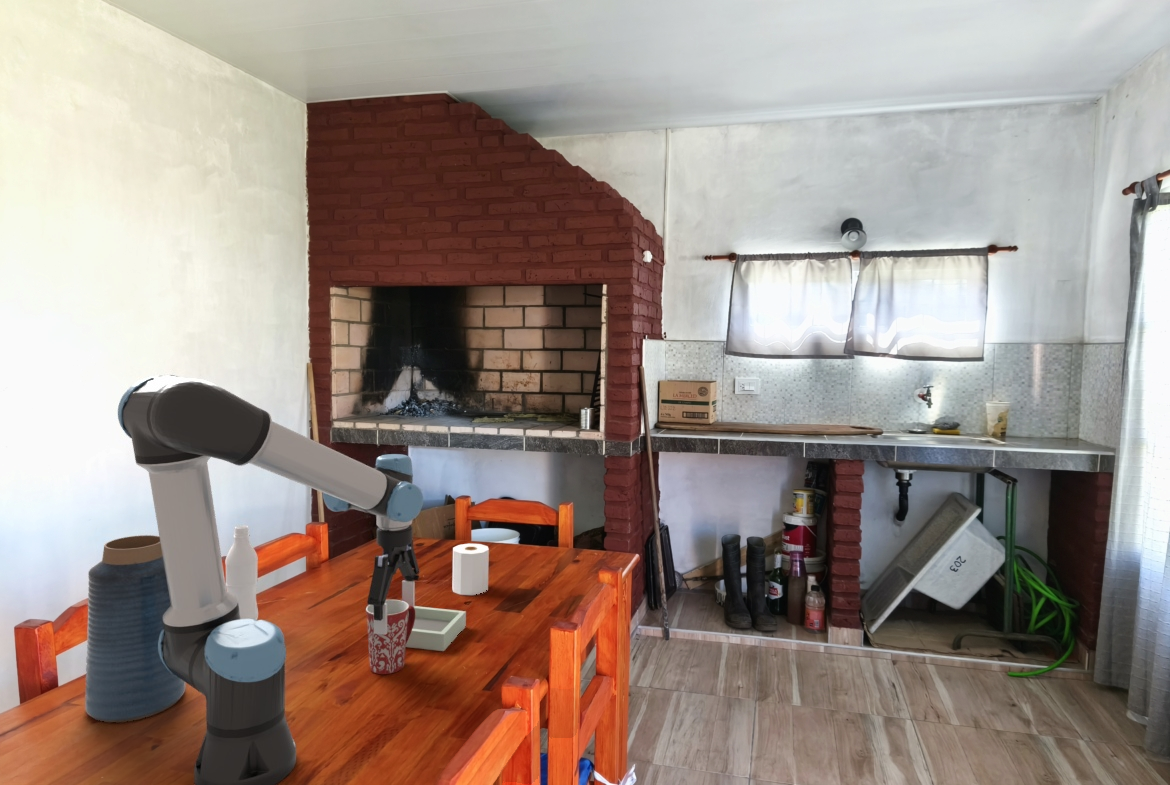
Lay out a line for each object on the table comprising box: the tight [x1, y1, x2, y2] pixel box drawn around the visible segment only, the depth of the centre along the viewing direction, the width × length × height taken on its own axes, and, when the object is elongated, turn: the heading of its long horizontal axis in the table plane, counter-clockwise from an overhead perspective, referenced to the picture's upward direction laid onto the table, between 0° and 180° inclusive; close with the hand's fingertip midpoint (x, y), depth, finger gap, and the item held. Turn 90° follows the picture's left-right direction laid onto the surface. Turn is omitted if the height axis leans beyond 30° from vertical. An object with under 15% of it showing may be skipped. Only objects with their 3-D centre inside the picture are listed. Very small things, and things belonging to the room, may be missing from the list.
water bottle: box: [224, 524, 259, 621], centre depth 172 cm, size 7×7×25 cm
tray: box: [405, 605, 467, 652], centre depth 171 cm, size 14×18×4 cm
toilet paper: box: [451, 543, 490, 596], centre depth 203 cm, size 10×10×12 cm
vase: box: [84, 534, 187, 723], centre depth 135 cm, size 16×16×32 cm
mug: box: [365, 599, 415, 675], centre depth 155 cm, size 13×9×14 cm
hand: (395, 620), depth 155 cm, fingers open, 13 cm apart
